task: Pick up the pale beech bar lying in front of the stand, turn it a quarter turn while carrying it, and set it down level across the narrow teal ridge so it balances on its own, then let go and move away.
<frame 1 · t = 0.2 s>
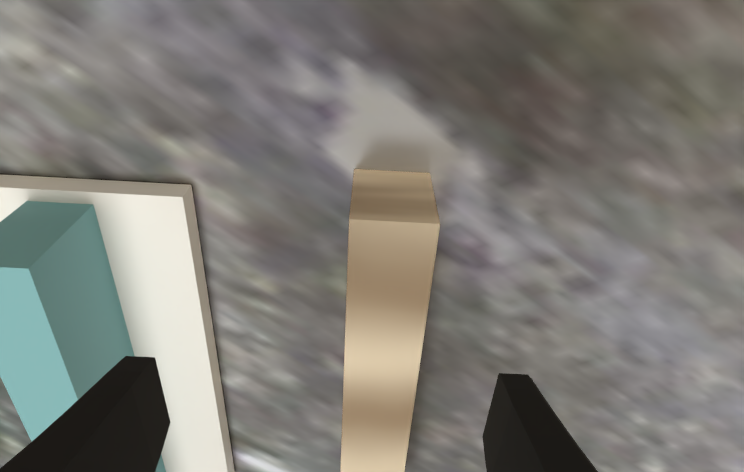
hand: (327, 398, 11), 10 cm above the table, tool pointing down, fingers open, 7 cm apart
beech bar: (377, 344, 24), on the table
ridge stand: (121, 352, 24), on the table
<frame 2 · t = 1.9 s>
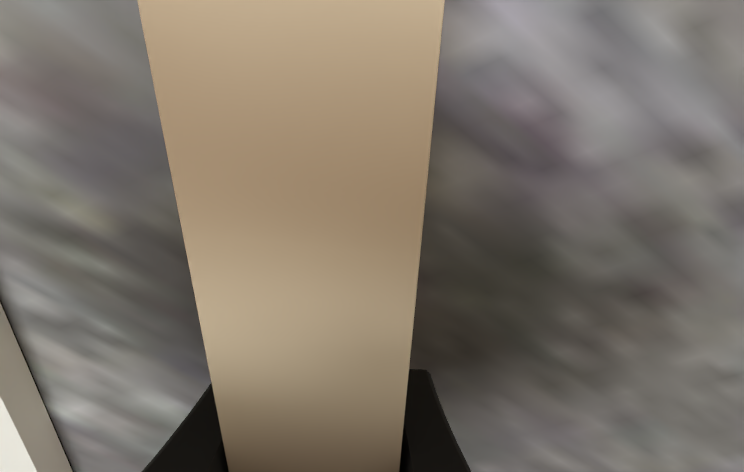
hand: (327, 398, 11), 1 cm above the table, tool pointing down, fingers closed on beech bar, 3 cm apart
beech bar: (333, 343, 12), on the table, touching gripper
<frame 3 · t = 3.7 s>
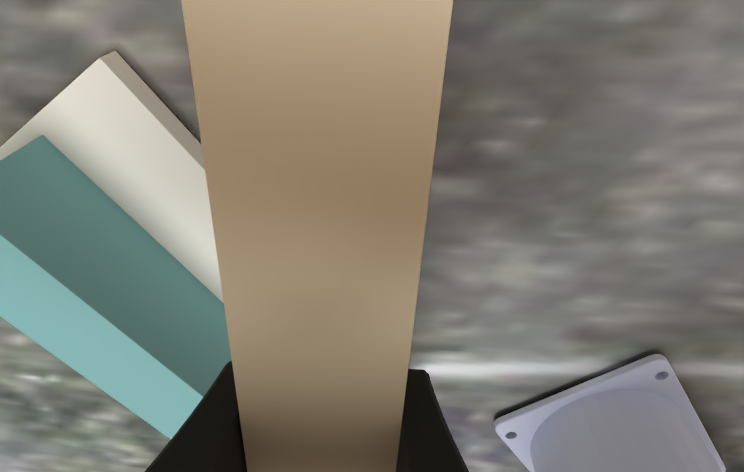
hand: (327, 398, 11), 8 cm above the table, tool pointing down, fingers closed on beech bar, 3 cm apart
beech bar: (335, 326, 13), point 6 cm above the table, touching gripper
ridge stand: (216, 307, 20), on the table
when the fingers open (7 cm above the table, at t = 4.9 s): beech bar stays where it is, resting on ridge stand.
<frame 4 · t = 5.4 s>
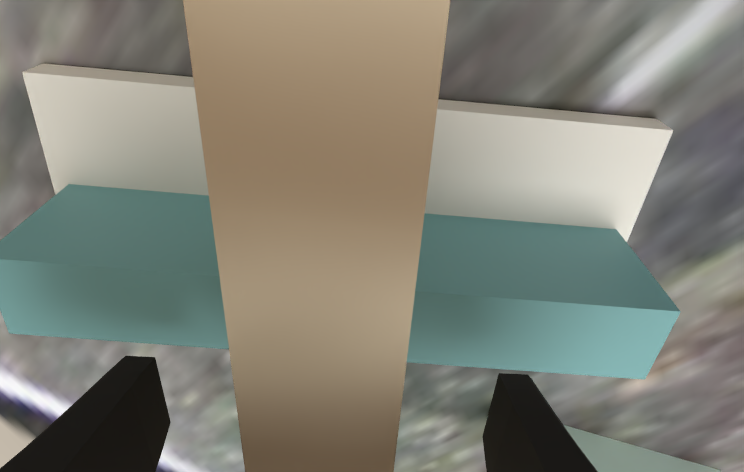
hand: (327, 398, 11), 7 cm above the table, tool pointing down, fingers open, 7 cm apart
beech bar: (335, 326, 13), point 5 cm above the table, touching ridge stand
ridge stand: (346, 224, 17), on the table
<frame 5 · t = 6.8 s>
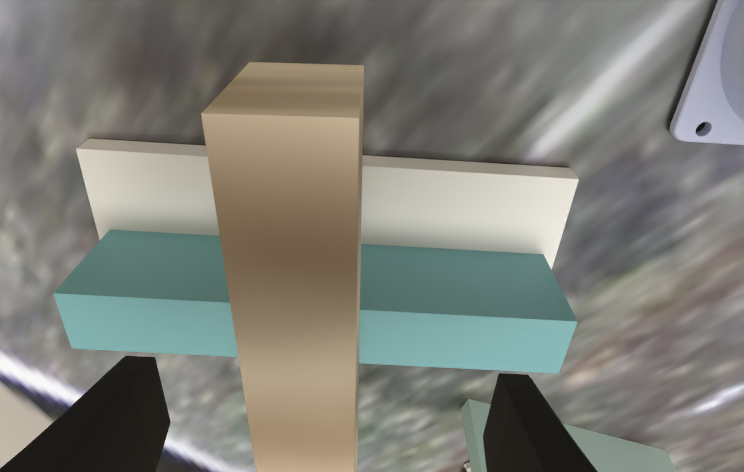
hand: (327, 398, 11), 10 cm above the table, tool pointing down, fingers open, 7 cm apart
beech bar: (317, 338, 17), point 5 cm above the table, touching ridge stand
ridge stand: (330, 253, 21), on the table
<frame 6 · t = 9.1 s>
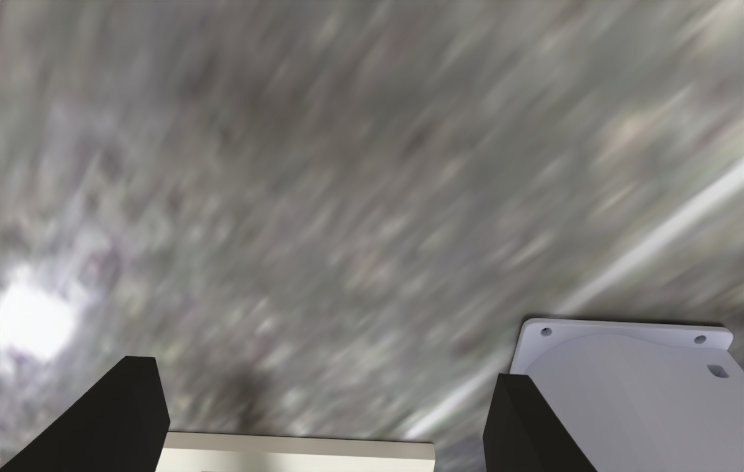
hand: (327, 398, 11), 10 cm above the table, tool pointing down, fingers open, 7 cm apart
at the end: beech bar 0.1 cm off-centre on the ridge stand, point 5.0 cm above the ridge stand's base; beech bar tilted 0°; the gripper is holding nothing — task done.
